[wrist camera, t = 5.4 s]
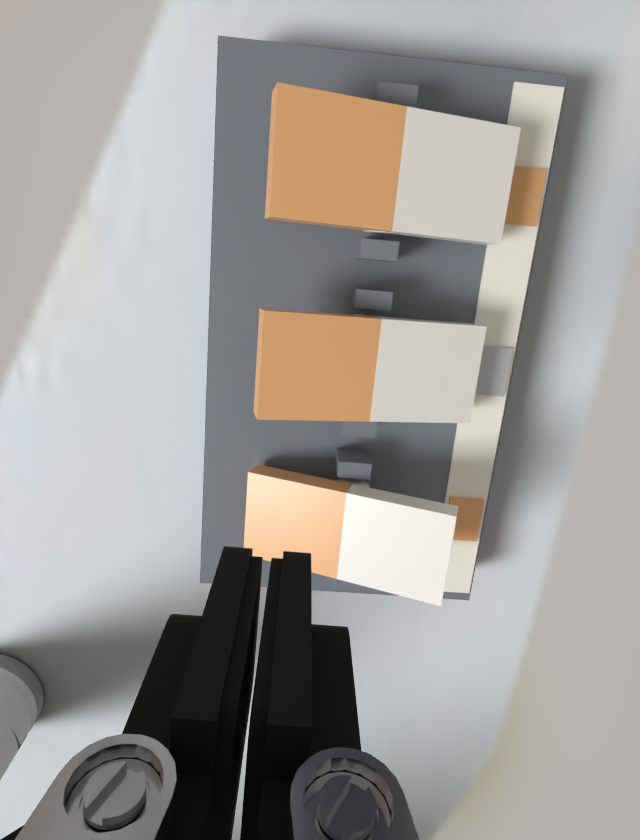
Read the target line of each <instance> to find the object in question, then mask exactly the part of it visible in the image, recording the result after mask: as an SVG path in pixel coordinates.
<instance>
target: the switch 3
mask: <svg viewBox="0 0 640 840" xmlns="http://www.w3.org/2000/svg"><path fill="white" fill-rule="evenodd" d="M458 507H459V506H455V505H450V504H445V503H441V502H436V501H431V500H426V499H421V498H417V497H412V496H407V495H402V494H397V493H393V492H388V491H383V490H378V489H373V488H369V484H368V483H367V482H365V481H363V480H360V479H355V478H342V479H339V480H338V481H335V480H330V479H325V478H321V477H316V476H311V475H306V474H301V473H297V472H292V471H287V470H282V469H277V468H273V467H268V466H263V465H257V466H256V467H254V468H253V469H251V470H250V471H249V472H248V480H247V497H246V515H245V533H244V548H252V550H253V553H252V556H256V557H263V560H267V561H271V558H281V559H283V551H290V552H302V553H311V572H312V573H316V574H320V575H324V576H327V577H331V578H335V579H339V580H343V581H346V582H350V583H354V584H358V585H362V586H365V587H369V588H373V589H377V590H381V591H384V592H388V593H392V594H396V595H400V596H403V597H407V598H411V599H415V600H419V601H422V602H426V603H430V604H434V605H438V606H441V604H442V599H443V594H444V588H445V582H446V576H447V571H448V565H449V559H450V553H451V548H452V542H453V536H454V530H455V525H456V519H457V513H458Z"/></svg>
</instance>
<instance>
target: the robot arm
mask: <svg viewBox="0 0 640 840" xmlns="http://www.w3.org/2000/svg"><path fill="white" fill-rule="evenodd" d="M252 553H253V550H252V548H240V547H228V546H224V547H223V550H222V553H221V557H220V560H219V563H218V566H217V570H216V573H215V576H214V579H213V583H212V586H211V589H210V592H209V596H208V599H207V602H206V605H205V609H204V612H203V615H202V616H193V615H179V614H172V615H170V617H169V619H168V621H167V623H166V625H165V628H164V630H163V633H162V635H161V638H160V640H159V643H158V645H157V648H156V650H155V653H154V655H153V658H152V660H151V663H150V665H149V668H148V670H147V673H146V675H145V678H144V680H143V683H142V685H141V688H140V690H139V693H138V695H137V698H136V700H135V703H134V705H133V708H132V710H131V713H130V715H129V718H128V720H127V723H126V725H125V728H124V730H123V733H122V734H121V735H116V736H111V737H106V738H104V739H102V740H99V741H97V742H95V743H93V744H90V745H88V746H87V747H86V748H84V749H83V750H82V751H80V752H79V753H78V754H76V755H75V756H73V757H72V758H71V760H70V761H69V762H68V763H67V764H66V765H65V767H64V768H63V769H62V770H61V771H60V772H59V774H58V775H57V777H56V778H55V780H54V781H53V783H52V784H51V786H50V787H49V789H48V790H47V792H46V793H45V795H44V796H43V798H42V799H41V801H40V802H39V804H38V805H37V807H36V808H35V810H34V811H33V813H32V814H31V816H30V817H29V819H28V820H27V822H26V823H25V825H23V826H22V827H20V828H19V829H17V830H15V831H14V832H12V833H11V834H9V835H7V836H6V837H4V838H3V839H1V840H231V838H232V831H233V824H234V817H235V809H236V802H237V795H238V788H239V780H240V773H241V766H242V759H243V751H244V744H245V737H246V730H247V722H248V715H249V708H250V701H251V693H252V685H253V675H254V663H255V651H256V638H257V625H258V613H259V600H260V587H261V575H262V562H263V557H256V556H252ZM240 840H419V839H418V836H417V832H416V829H415V826H414V823H413V820H412V817H411V814H410V811H409V808H408V805H407V802H406V799H405V796H404V793H403V791H402V789H401V787H400V785H399V783H398V781H397V779H396V777H395V776H394V775H393V774H392V772H391V771H390V770H389V769H388V768H387V767H386V766H385V764H383V763H382V762H381V761H379V760H378V759H376V758H375V757H373V756H372V755H370V754H368V753H365V752H362V751H361V744H360V735H359V725H358V715H357V705H356V696H355V686H354V676H353V667H352V657H351V647H350V638H349V631H348V628H347V627H341V626H327V625H314V624H311V553H302V552H290V551H283V559H281V558H271V566H270V573H269V581H268V588H267V596H266V603H265V611H264V618H263V626H262V633H261V641H260V648H259V656H258V663H257V671H256V678H255V686H254V693H253V701H252V708H251V717H250V726H249V737H248V749H247V761H246V774H245V787H244V799H243V812H242V825H241V838H240Z"/></svg>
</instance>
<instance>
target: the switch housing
mask: <svg viewBox="0 0 640 840" xmlns="http://www.w3.org/2000/svg"><path fill="white" fill-rule="evenodd" d="M567 80H568V75H563V74H554V73H545V72H536V71H527V70H518V69H509V68H501V67H492V66H483V65H474V64H465V63H456V62H447V61H438V60H430V59H421V58H412V57H403V56H394V55H385V54H376V53H368V52H359V51H350V50H341V49H332V48H323V47H314V46H306V45H297V44H288V43H279V42H270V41H261V40H252V39H243V38H235V37H226V36H218V55H217V86H216V116H215V146H214V177H213V207H212V237H211V268H210V298H209V328H208V359H207V389H206V419H205V450H204V480H203V510H202V541H201V571H200V583H213V579H214V576H215V573H216V570H217V566H218V563H219V560H220V557H221V553H222V550H223V547H224V546H228V547H240V548H244V533H245V515H246V497H247V480H248V472H249V471H250V470H251V469H253V468H254V467H256V466H257V465H263V466H268V467H273V468H277V469H282V470H287V471H292V472H297V473H301V474H306V475H311V476H316V477H321V478H325V479H330V480H335V481H338V480H339V479H342V478H355V479H360V480H363V481H365V482H367V483H368V484H369V488H373V489H378V490H383V491H388V492H393V493H397V494H402V495H407V496H412V497H417V498H421V499H426V500H431V501H436V502H441V503H445V504H450V505H455V506H459V507H458V513H457V519H456V525H455V530H454V536H453V542H452V548H451V553H450V559H449V565H448V571H447V576H446V582H445V588H444V594H443V598H444V599H459V600H469V598H470V592H471V587H472V582H473V576H474V571H475V566H476V561H477V555H478V550H479V545H480V539H481V534H482V529H483V524H484V518H485V513H486V508H487V502H488V497H489V492H490V487H491V481H492V476H493V471H494V465H495V460H496V455H497V450H498V444H499V439H500V434H501V428H502V423H503V418H504V413H505V407H506V402H507V397H508V391H509V386H510V381H511V376H512V370H513V365H514V360H515V354H516V349H517V344H518V339H519V333H520V328H521V323H522V317H523V312H524V307H525V302H526V296H527V291H528V286H529V280H530V275H531V270H532V265H533V259H534V254H535V249H536V243H537V238H538V233H539V228H540V222H541V217H542V212H543V206H544V201H545V196H546V191H547V185H548V180H549V175H550V169H551V164H552V159H553V154H554V148H555V143H556V138H557V132H558V127H559V122H560V117H561V111H562V106H563V101H564V95H565V90H566V85H567ZM277 82H279V83H285V84H290V85H295V86H301V87H306V88H311V89H317V90H322V91H328V92H333V93H338V94H344V95H349V96H354V97H360V98H365V99H370V100H376V101H381V102H386V103H392V104H397V105H403V106H408V107H413V108H419V109H424V110H429V111H435V112H440V113H445V114H451V115H456V116H461V117H467V118H472V119H478V120H483V121H488V122H494V123H499V124H504V125H510V126H515V127H520V128H521V131H520V137H519V142H518V148H517V154H516V160H515V166H514V171H513V177H512V183H511V189H510V195H509V200H508V206H507V212H506V218H505V224H504V229H503V235H502V241H501V244H493V245H483V244H474V243H466V242H457V241H449V240H440V239H432V238H423V237H415V236H406V235H386V234H375V233H368V232H364V231H363V230H355V229H347V228H338V227H330V226H321V225H313V224H304V223H296V222H287V221H279V220H270V219H265V205H266V188H267V171H268V153H269V136H270V119H271V101H272V91H273V89H274V88H275V86H276V84H277ZM259 308H266V309H280V310H294V311H308V312H321V313H335V314H349V315H354V314H367V315H377V316H384V317H390V318H404V319H417V320H431V321H445V322H459V323H472V324H477V325H482V326H487V328H486V334H485V340H484V346H483V351H482V357H481V363H480V369H479V375H478V380H477V386H476V392H475V398H474V404H473V409H472V415H471V421H470V423H420V422H362V421H305V420H257V418H256V416H255V414H254V395H255V377H256V360H257V343H258V326H259ZM270 566H271V561H267V560H263V562H262V575H261V587H268V581H269V573H270ZM311 590H321V591H336V592H352V593H367V594H382V595H396V594H392V593H388V592H384V591H381V590H377V589H373V588H369V587H365V586H362V585H358V584H354V583H350V582H346V581H343V580H339V579H335V578H331V577H327V576H324V575H320V574H316V573H312V572H311ZM398 596H400V595H398Z"/></svg>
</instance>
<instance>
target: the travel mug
mask: <svg viewBox="0 0 640 840" xmlns="http://www.w3.org/2000/svg"><path fill="white" fill-rule="evenodd" d="M43 704H44V694H43V689H42V686H41V683H40V681H39V679H38V678H37V676H36V675H35V674H34V672H33V671H32V670H31V669H30V668H29V667H27V666H26V665H25V664H23V663H22V662H20V661H18V660H16V659H15V658H12V657H9V656H7V655H3V654H0V779H1V778H2V776H3V775H4V773H5V771H6V770H7V768H8V766H9V765H10V763H11V761H12V760H13V758H14V756H15V755H16V753H17V751H18V750H19V748H20V746H21V745H22V743H23V741H24V740H25V738H26V736H27V734H28V732H29V731H30V730H31V728H32V727H33V725H34V723H35V722H36V720H37V718H38V717H39V715H40V713H41V711H42V708H43Z"/></svg>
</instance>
